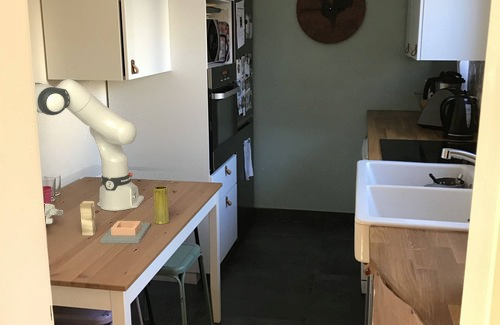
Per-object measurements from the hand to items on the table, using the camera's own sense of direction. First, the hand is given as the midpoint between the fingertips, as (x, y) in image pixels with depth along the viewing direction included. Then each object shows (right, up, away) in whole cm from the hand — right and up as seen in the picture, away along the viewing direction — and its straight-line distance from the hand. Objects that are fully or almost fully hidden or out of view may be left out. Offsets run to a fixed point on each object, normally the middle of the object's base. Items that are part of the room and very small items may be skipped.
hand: (57, 216), depth 210 cm
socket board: (+26, -6, 0) cm, 27 cm away
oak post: (+12, -6, +1) cm, 13 cm away
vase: (+37, -4, +13) cm, 40 cm away
